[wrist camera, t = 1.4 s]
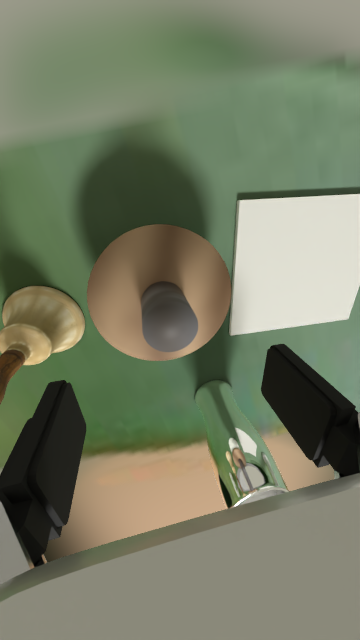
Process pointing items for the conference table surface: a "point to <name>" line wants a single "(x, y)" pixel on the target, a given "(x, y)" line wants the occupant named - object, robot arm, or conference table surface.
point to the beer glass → (236, 449)
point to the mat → (294, 262)
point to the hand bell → (36, 328)
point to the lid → (159, 292)
